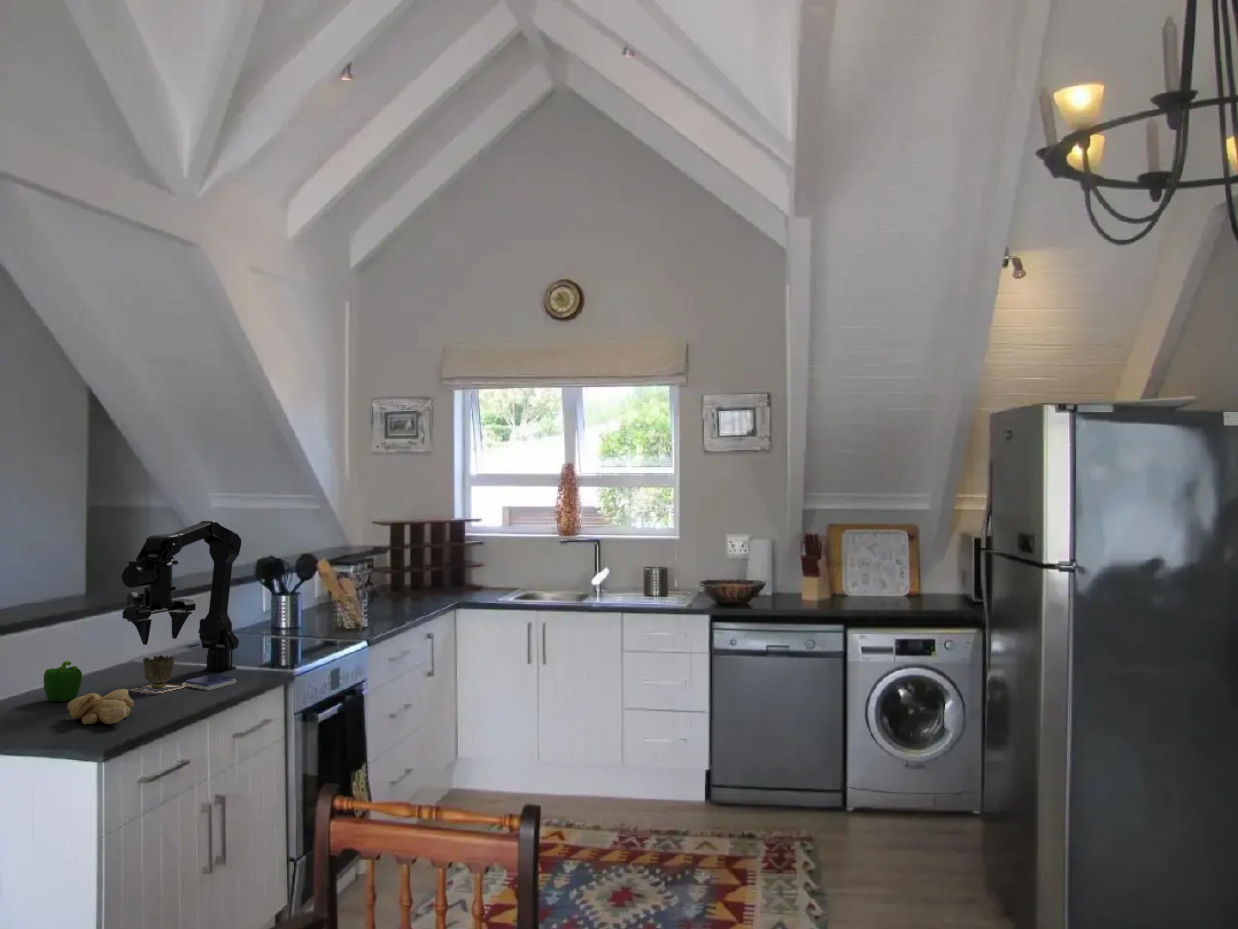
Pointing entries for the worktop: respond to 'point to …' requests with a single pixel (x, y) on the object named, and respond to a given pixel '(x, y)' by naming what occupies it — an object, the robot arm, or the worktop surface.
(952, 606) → the worktop surface
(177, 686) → the marked card
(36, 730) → the worktop surface
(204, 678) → the ink pad
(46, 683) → the bell pepper
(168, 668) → the ornate bronze cup
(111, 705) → the ginger root
